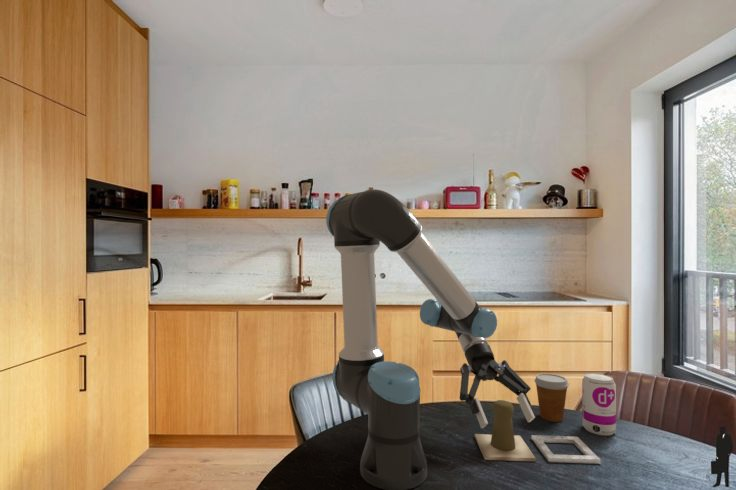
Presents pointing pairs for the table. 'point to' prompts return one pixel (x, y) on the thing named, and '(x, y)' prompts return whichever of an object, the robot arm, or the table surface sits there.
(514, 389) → the robot arm
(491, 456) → the birch board
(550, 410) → the disposable coffee cup
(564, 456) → the shaker dock
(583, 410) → the supplement can
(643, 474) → the table surface
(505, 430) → the cork
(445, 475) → the table surface
